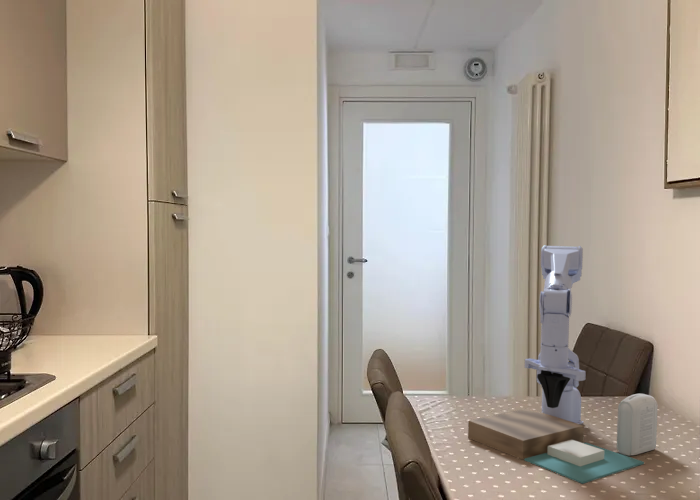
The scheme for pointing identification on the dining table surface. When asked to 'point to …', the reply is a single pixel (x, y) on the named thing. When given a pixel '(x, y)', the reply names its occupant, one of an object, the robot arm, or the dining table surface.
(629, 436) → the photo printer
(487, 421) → the wood grain panel
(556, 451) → the coaster
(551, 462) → the mat
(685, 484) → the dining table surface
